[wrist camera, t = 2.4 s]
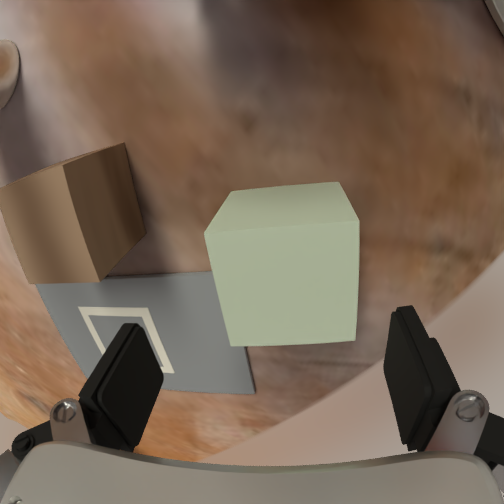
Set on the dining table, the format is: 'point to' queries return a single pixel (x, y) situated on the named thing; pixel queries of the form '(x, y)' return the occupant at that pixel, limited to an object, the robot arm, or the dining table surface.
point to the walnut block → (74, 217)
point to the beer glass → (8, 70)
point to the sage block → (286, 265)
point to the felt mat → (154, 327)
